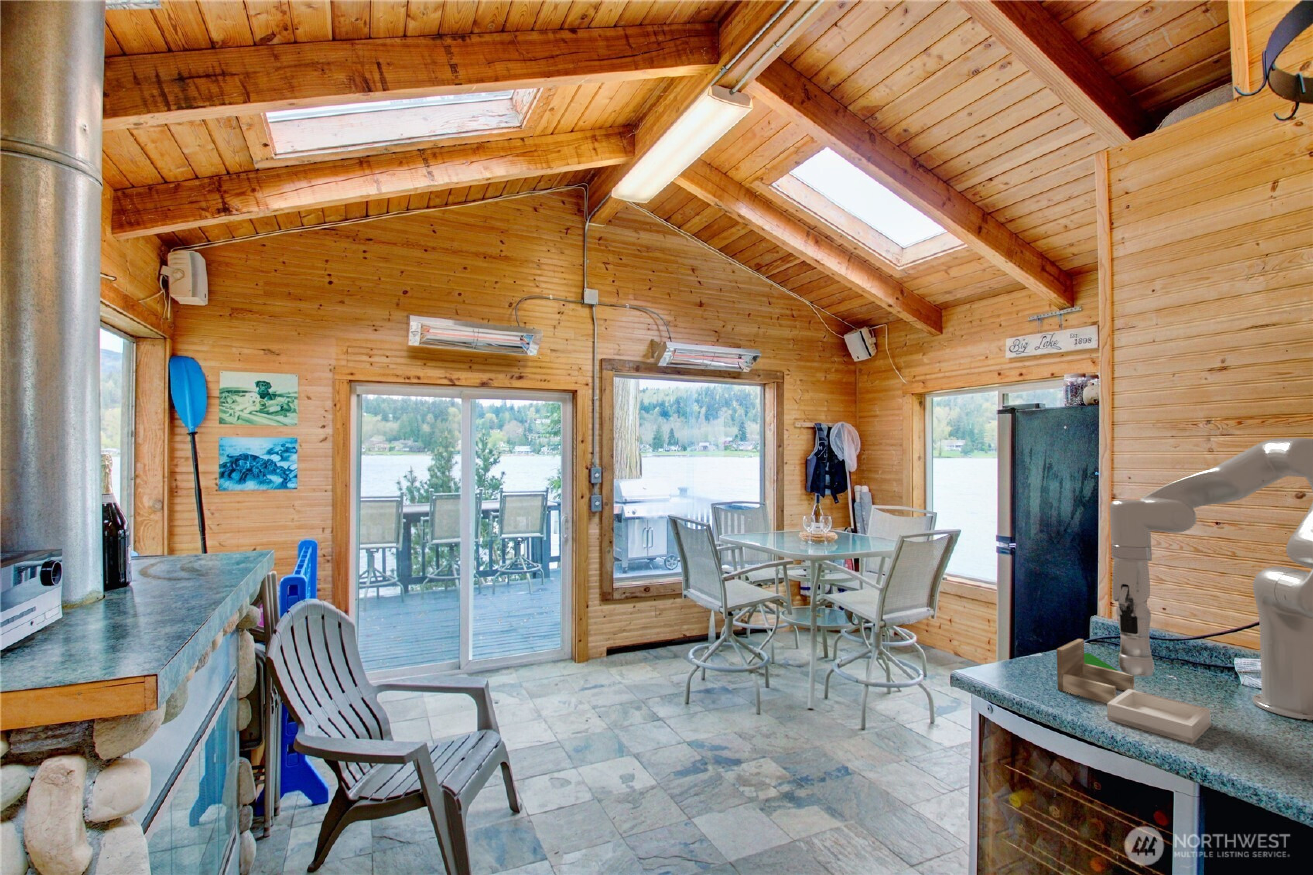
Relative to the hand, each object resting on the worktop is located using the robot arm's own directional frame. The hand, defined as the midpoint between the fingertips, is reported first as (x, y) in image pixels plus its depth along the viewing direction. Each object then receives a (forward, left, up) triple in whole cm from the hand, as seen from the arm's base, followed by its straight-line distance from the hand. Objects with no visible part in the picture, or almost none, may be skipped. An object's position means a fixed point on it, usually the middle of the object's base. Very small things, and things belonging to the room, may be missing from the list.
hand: (1134, 629), depth 146 cm
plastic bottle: (0, 0, -11) cm, 11 cm away
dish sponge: (+15, -17, -17) cm, 29 cm away
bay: (+7, 0, -17) cm, 18 cm away
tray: (-7, +10, -17) cm, 21 cm away
